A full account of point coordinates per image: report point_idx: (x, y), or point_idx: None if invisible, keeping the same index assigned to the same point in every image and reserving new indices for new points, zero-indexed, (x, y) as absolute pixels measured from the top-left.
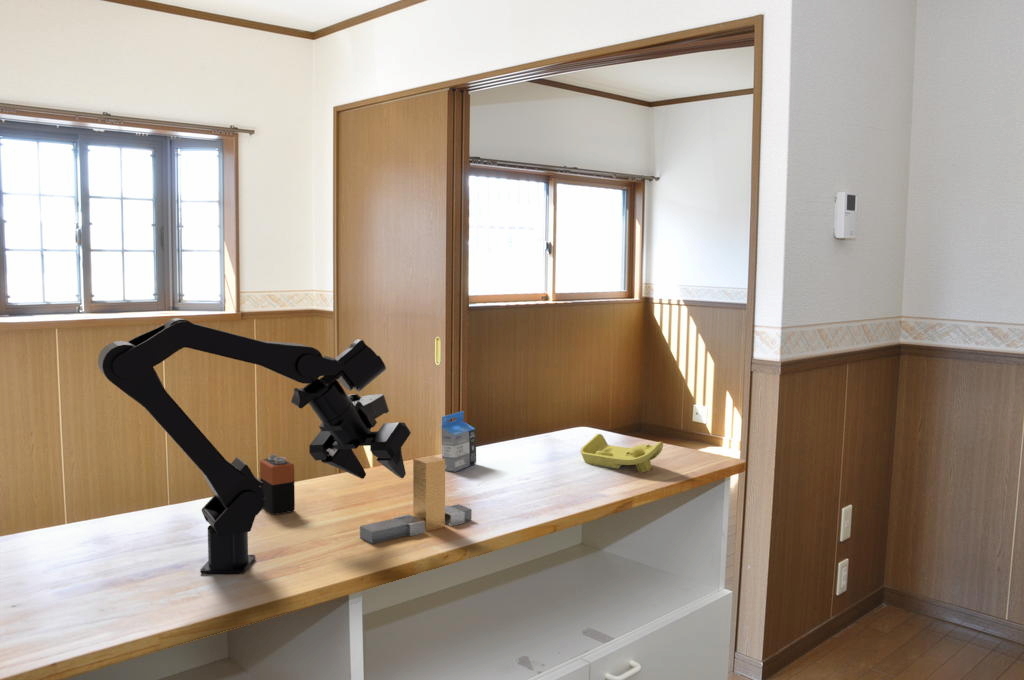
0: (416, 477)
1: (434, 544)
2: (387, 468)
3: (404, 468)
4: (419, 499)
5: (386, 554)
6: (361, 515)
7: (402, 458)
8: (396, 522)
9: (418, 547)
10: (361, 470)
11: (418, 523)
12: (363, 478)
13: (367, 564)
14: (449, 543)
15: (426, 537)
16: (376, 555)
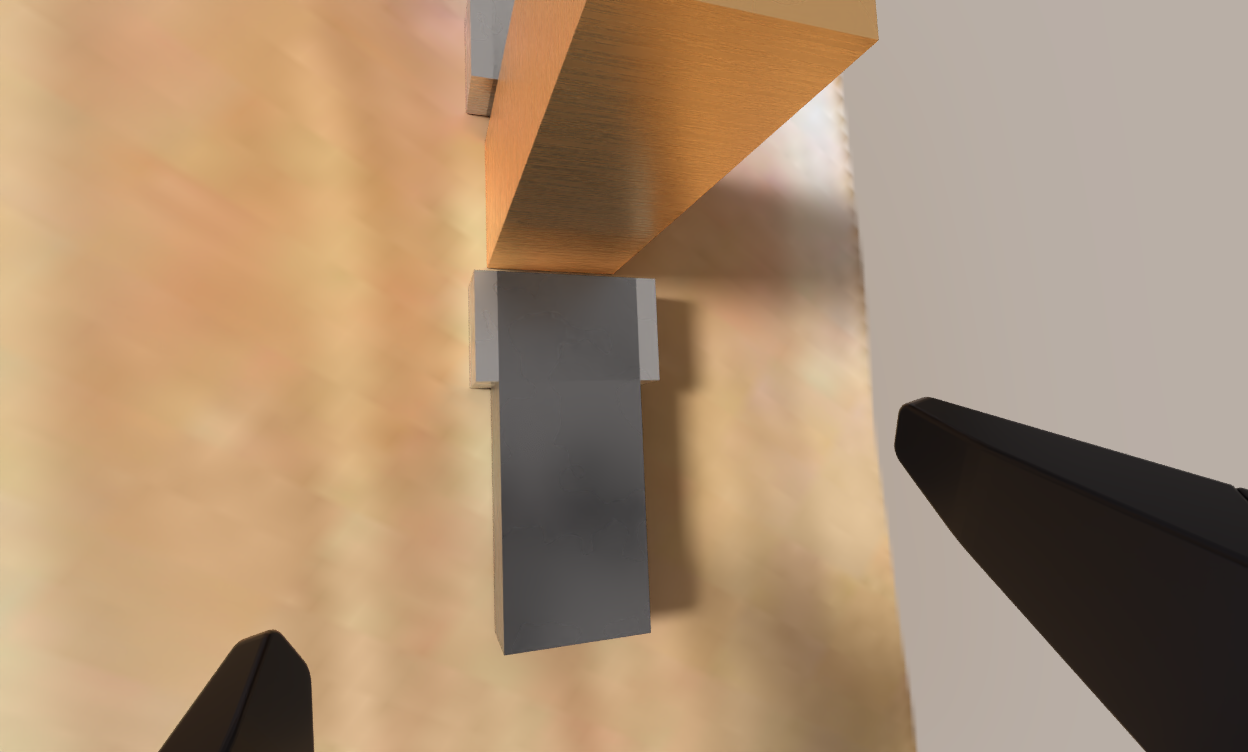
0: (604, 127)
1: (786, 354)
2: (1135, 731)
3: (1008, 424)
4: (598, 212)
5: (781, 608)
6: (39, 424)
7: (1220, 486)
8: (578, 422)
9: (781, 435)
10: (265, 747)
11: (654, 322)
12: (306, 667)
13: (839, 738)
14: (809, 293)
15: (691, 327)
16: (769, 656)
